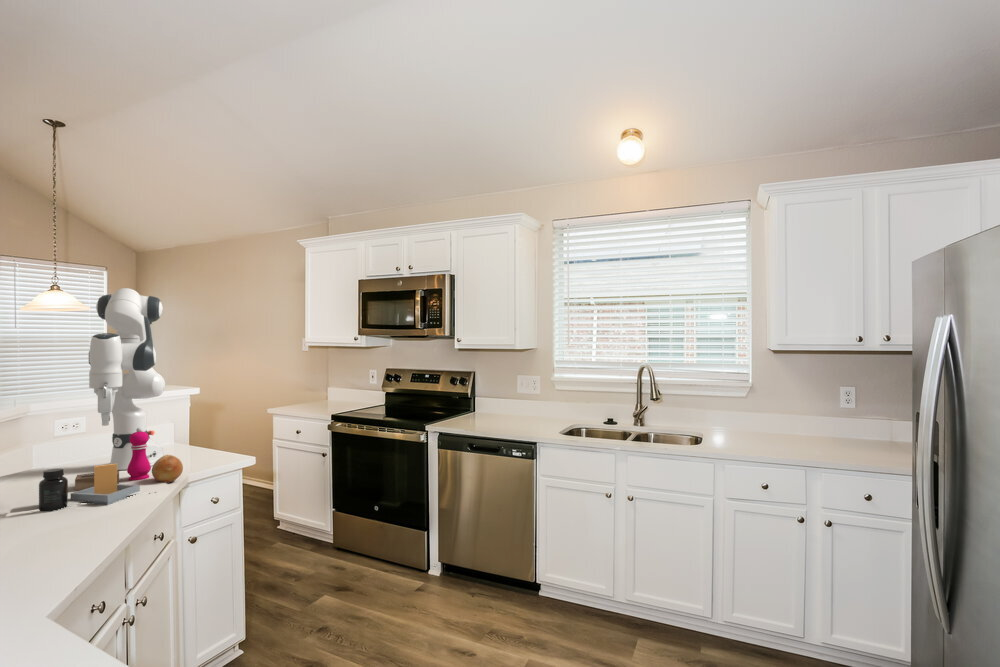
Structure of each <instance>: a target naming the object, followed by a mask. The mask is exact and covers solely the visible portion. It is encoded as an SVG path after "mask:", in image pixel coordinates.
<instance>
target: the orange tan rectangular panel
mask: <svg viewBox="0 0 1000 667" xmlns="http://www.w3.org/2000/svg"><path fill="white" fill-rule="evenodd" d="M93 469H94V470H93V473H94V494H110V493H113V492H116V491H117V464H110V463H109V464H102V465H95V466H93Z"/></svg>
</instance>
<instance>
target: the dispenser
mask: <svg viewBox="0 0 1000 667" xmlns="http://www.w3.org/2000/svg"><path fill="white" fill-rule="evenodd" d="M117 484H120V470H117ZM91 487H94V472H90V473H81V474H77V475H76V477H75V479H74V492H78V491H81V490H84V489H87V488H91Z"/></svg>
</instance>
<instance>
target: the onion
mask: <svg viewBox="0 0 1000 667" xmlns="http://www.w3.org/2000/svg"><path fill="white" fill-rule="evenodd" d="M183 470H184V466H183V463H182V461H181V460H180V458H178V457H177V456H175V455H172V454H166V455H164V456H163V457H161V458H159V459H158V460H157V461H156V462H155V463H154V465H153V466H151V474H152V477H153V478H154V480H155V481H157V482H162V483H165V482H166V483H170V482H171V483H173V482H174V481H175V480H177V479H178V478H180V477H181V475H182V473H183V472H184V471H183ZM171 483H170V484H171Z"/></svg>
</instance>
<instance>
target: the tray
mask: <svg viewBox="0 0 1000 667" xmlns="http://www.w3.org/2000/svg"><path fill="white" fill-rule="evenodd" d="M140 489H141V484H125V483H119V484H117V491H116V492H113V493H110V494H94V487H91V488H87V489H84V490H81V491H77V492H75V491H74V492H72V493H70V501H80V502H79V504H81V503H94V504H93V505H99V504H106V505H105V506H109V505H111V503H112V504H114V503H113V502H115V503H117V502H116V501H118V502H120V501H119V500H121V501H123V500H125V499H124V498H126V499H128V498H127V497H129V498H131V497H130V496H132V497H134V496H133V495H135V496H137V495H136V494H137V493H138V492H140V491H141V490H140ZM122 499H123V500H122ZM81 501H82V502H81ZM108 504H109V505H108Z"/></svg>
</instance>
